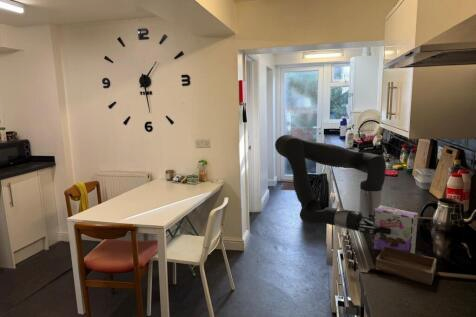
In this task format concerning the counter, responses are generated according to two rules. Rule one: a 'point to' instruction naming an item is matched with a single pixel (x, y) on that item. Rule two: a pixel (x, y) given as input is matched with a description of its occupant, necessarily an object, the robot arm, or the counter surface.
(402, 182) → the counter surface
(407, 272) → the crate
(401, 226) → the candy box
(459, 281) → the counter surface
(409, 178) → the counter surface
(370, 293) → the counter surface
